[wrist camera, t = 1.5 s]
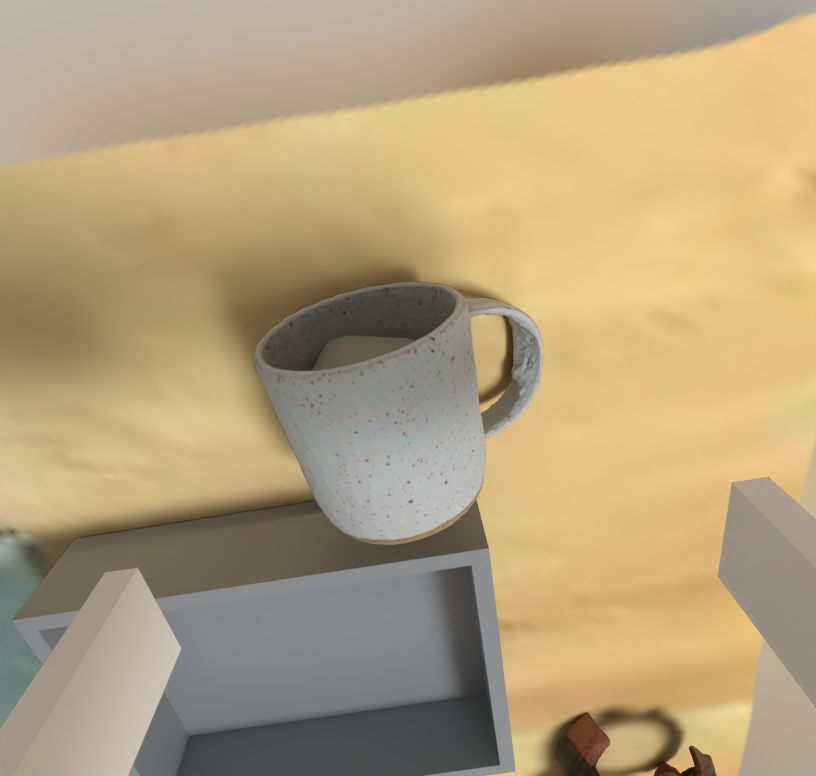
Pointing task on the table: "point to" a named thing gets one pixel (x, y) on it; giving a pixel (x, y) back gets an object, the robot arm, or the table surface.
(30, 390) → the table surface
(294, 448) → the ceramic mug
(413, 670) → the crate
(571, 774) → the brown clay vessel
